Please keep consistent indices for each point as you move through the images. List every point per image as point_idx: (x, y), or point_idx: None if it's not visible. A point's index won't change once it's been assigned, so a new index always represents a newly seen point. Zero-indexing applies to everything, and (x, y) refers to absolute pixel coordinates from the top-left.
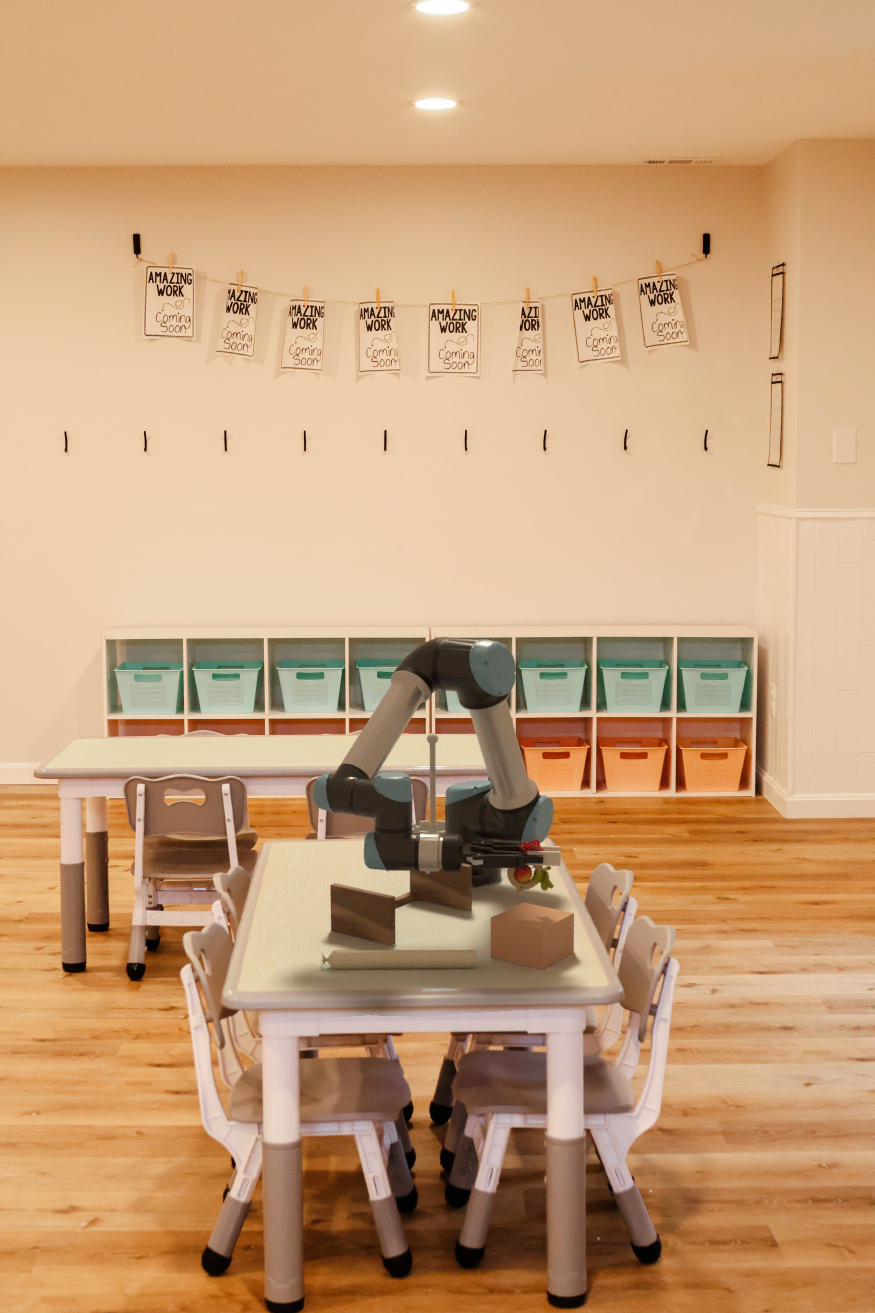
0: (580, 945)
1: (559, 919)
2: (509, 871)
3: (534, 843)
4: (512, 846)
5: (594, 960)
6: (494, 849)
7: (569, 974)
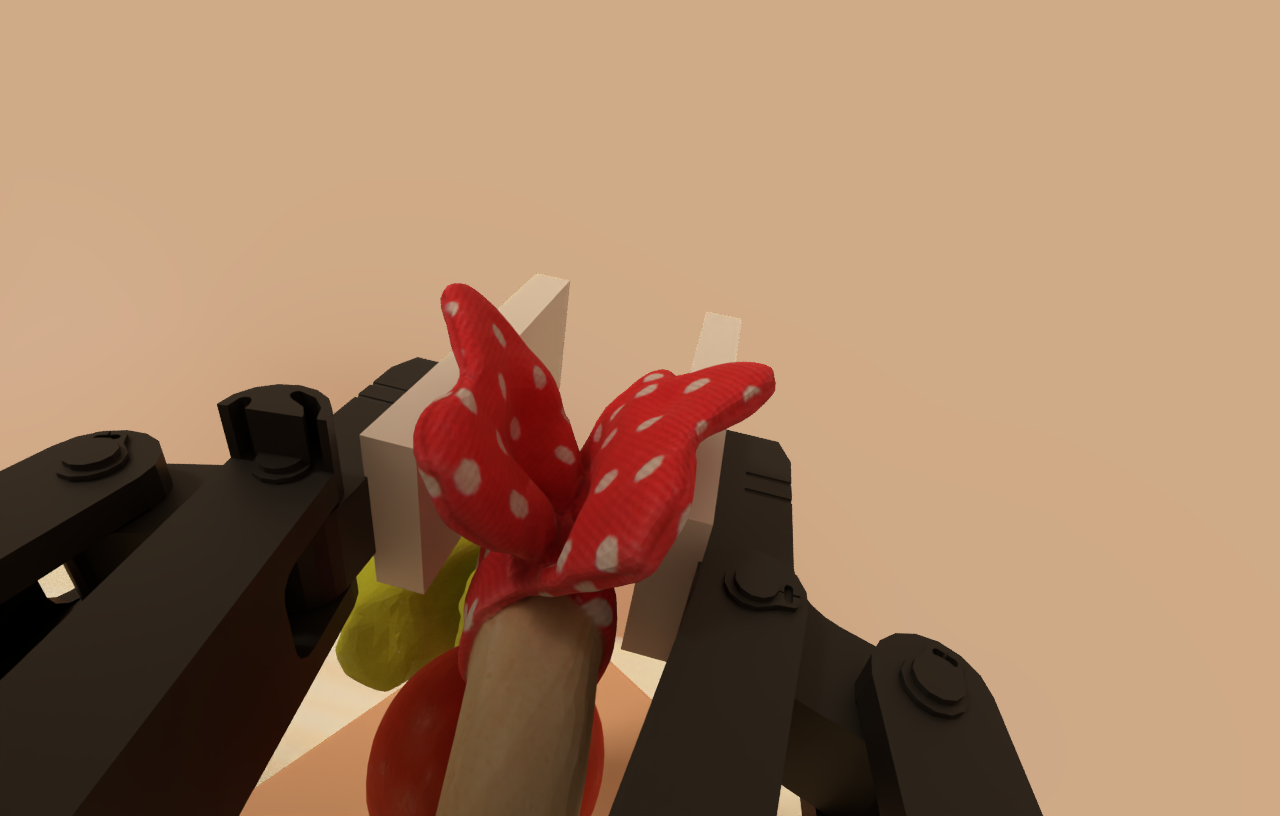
0: None
1: (629, 692)
2: None
3: (502, 355)
4: (182, 662)
5: (637, 661)
6: None
7: (799, 813)
